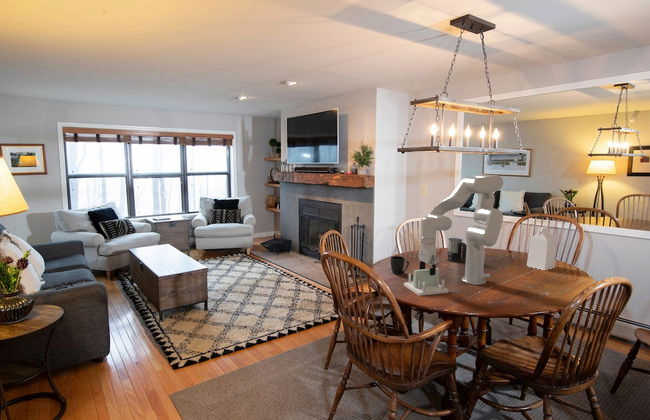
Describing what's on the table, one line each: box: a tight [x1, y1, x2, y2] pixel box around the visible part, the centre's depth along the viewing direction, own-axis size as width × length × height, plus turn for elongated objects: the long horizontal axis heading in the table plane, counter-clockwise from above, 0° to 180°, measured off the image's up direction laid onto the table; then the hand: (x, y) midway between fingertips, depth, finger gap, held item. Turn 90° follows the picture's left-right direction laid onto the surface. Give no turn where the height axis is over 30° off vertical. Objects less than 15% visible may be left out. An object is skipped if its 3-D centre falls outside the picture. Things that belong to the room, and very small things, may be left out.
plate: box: [412, 267, 440, 288], centre depth 199 cm, size 14×2×9 cm, turn 108°
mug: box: [390, 255, 410, 275], centre depth 225 cm, size 8×12×10 cm
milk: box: [526, 226, 557, 271], centre depth 241 cm, size 12×12×26 cm
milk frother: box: [447, 237, 467, 263], centre depth 256 cm, size 14×16×15 cm
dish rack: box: [403, 273, 450, 296], centre depth 200 cm, size 17×16×6 cm
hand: (427, 272), depth 199 cm, fingers open, 9 cm apart
